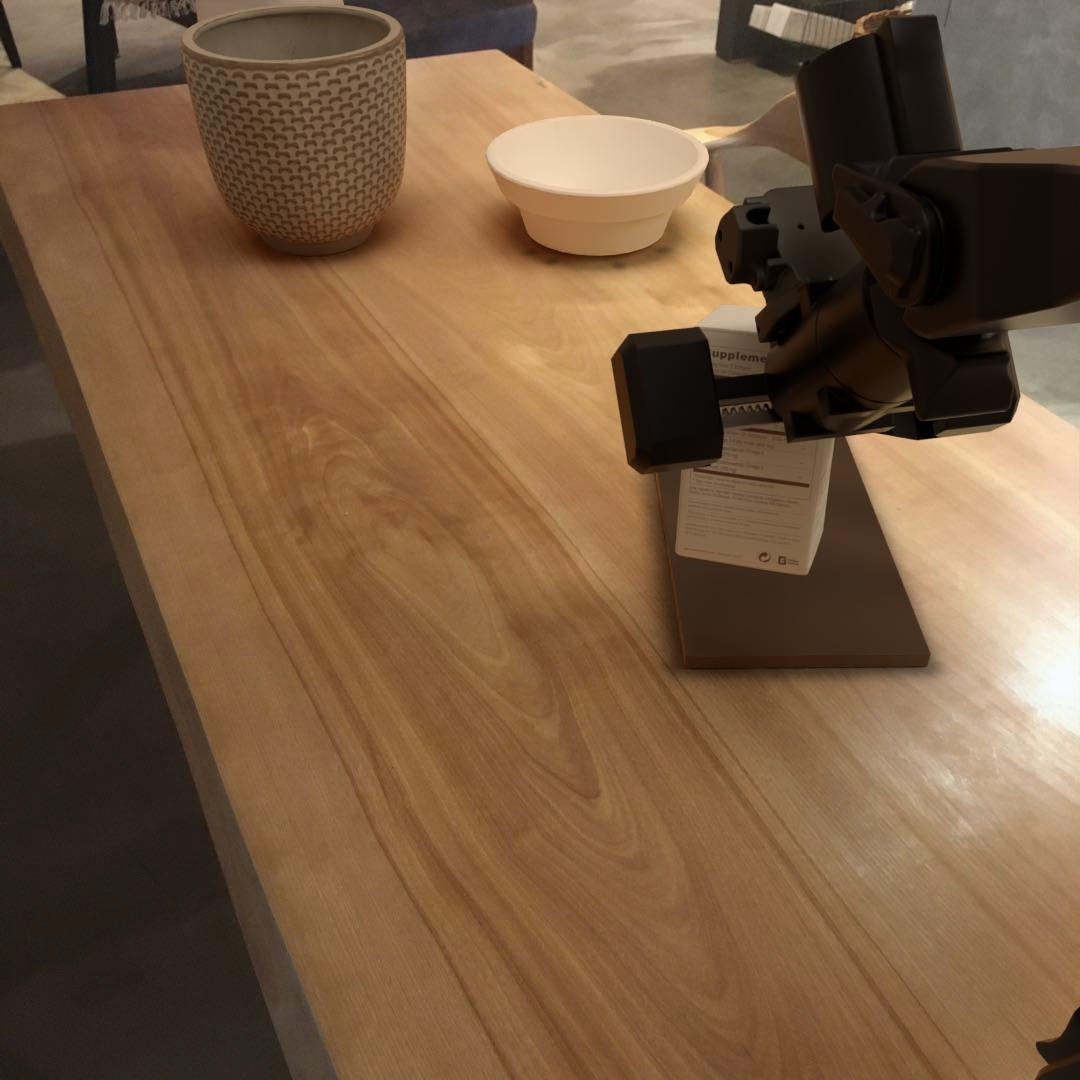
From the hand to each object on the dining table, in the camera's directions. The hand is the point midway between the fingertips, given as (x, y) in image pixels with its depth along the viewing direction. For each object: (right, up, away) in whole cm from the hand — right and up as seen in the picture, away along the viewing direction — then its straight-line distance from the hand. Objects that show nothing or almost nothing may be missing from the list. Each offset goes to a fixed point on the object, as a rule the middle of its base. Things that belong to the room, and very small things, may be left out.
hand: (759, 426), depth 63 cm
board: (+3, -4, +17) cm, 18 cm away
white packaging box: (0, -7, +3) cm, 7 cm away
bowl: (-6, +24, +53) cm, 58 cm away
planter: (-34, +24, +53) cm, 67 cm away
